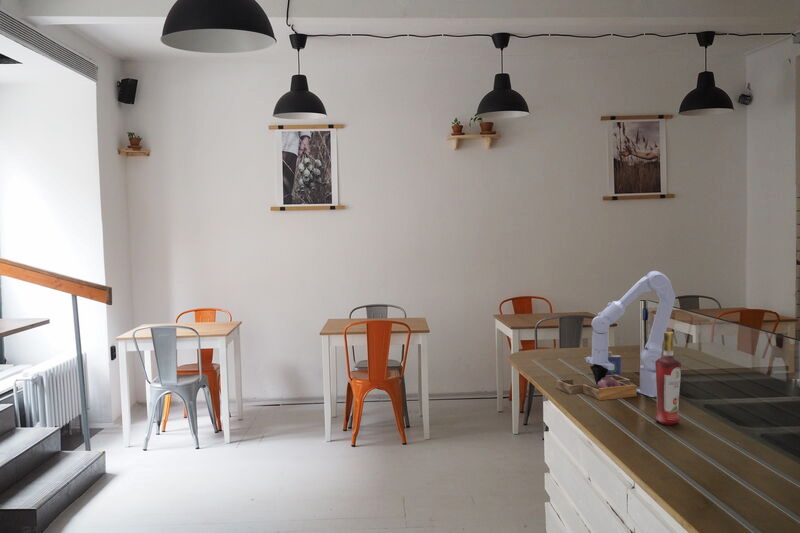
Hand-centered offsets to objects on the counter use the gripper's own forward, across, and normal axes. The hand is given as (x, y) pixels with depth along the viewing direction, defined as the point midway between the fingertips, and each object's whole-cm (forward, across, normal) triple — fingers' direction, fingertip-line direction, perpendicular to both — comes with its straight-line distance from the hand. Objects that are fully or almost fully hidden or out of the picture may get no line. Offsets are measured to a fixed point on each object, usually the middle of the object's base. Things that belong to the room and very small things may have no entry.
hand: (599, 385), depth 232 cm
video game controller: (+2, +5, +1) cm, 5 cm away
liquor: (+2, +39, -3) cm, 39 cm away
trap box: (+2, +1, 0) cm, 2 cm away
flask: (+2, -15, +15) cm, 21 cm away
